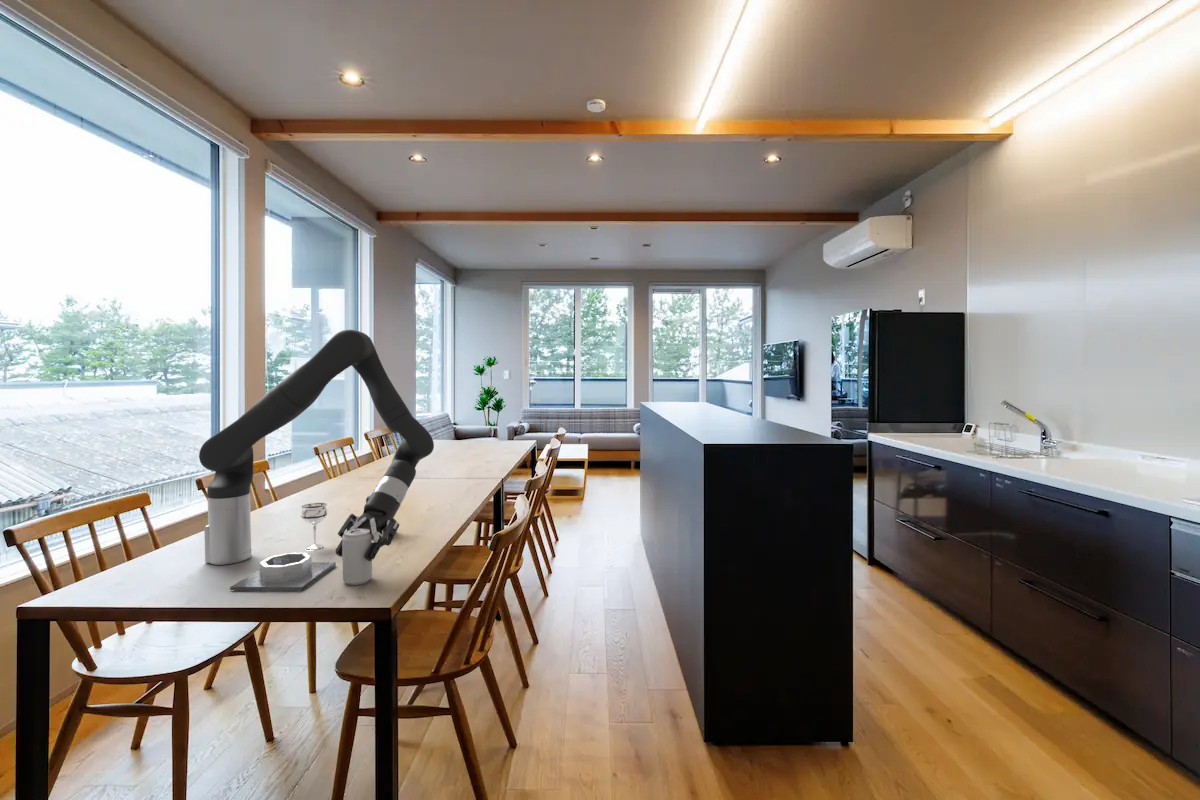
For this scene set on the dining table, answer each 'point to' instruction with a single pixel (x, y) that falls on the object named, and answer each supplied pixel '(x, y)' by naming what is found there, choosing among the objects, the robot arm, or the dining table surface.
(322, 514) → the wineglass
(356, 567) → the beverage can
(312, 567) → the collar stand
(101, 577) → the dining table surface
